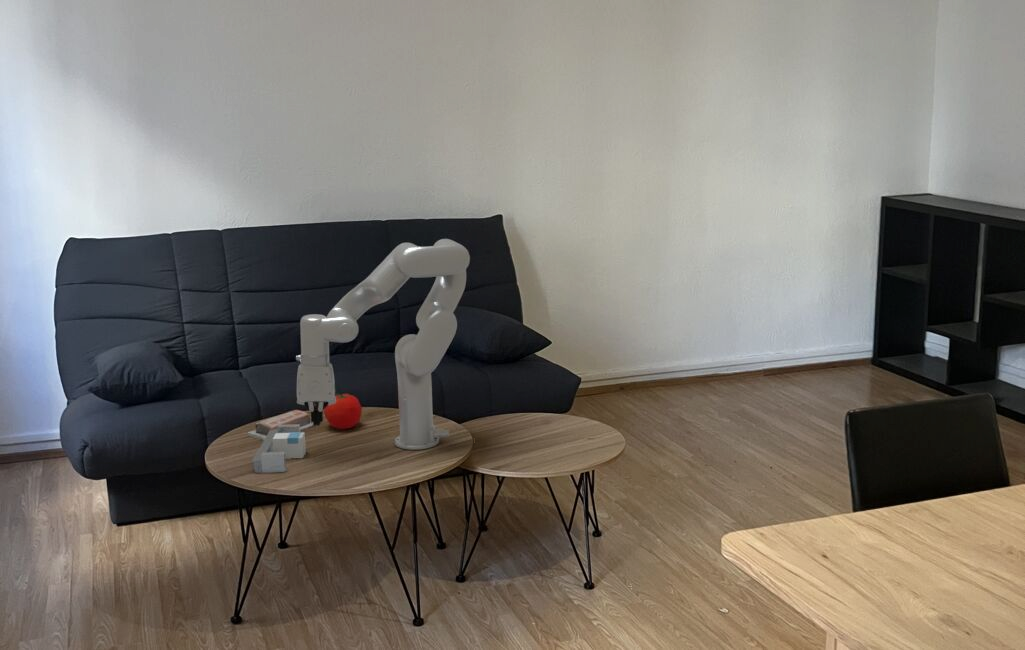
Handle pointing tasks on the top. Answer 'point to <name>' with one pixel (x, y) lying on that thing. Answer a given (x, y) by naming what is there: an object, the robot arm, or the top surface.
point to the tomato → (343, 412)
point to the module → (290, 444)
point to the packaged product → (281, 423)
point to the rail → (272, 452)
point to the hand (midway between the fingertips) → (317, 424)
